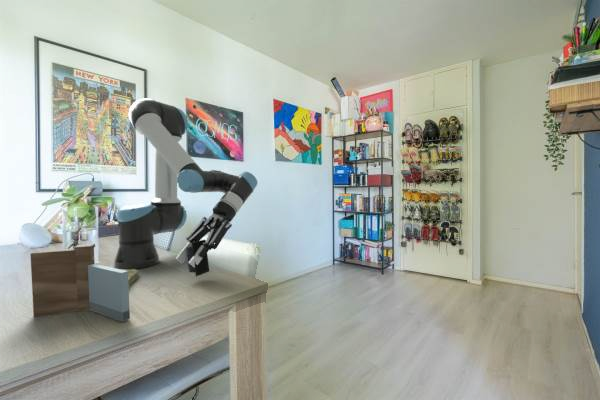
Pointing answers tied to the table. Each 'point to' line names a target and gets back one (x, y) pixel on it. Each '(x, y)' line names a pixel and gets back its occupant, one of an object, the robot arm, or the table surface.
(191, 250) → the speaker
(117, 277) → the light blue flat panel
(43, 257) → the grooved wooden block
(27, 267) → the table surface
